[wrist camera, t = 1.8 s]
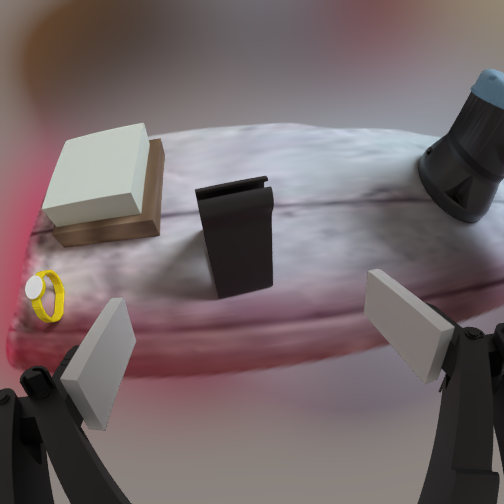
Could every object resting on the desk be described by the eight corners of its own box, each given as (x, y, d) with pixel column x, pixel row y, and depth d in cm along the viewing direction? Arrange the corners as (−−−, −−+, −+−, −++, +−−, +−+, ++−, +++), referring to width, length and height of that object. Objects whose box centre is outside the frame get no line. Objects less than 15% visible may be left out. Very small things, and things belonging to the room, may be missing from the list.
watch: (69, 325, 29) (41, 315, 24) (52, 326, 29) (23, 316, 23) (69, 278, 31) (44, 260, 26) (53, 280, 31) (27, 263, 26)
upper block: (149, 144, 37) (143, 122, 34) (140, 213, 32) (130, 192, 28) (76, 159, 36) (66, 140, 33) (56, 227, 31) (41, 209, 27)
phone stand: (203, 229, 35) (188, 157, 24) (251, 219, 36) (255, 146, 25) (218, 299, 31) (205, 245, 21) (272, 286, 32) (287, 228, 21)
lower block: (165, 157, 41) (160, 138, 38) (160, 237, 35) (152, 219, 32) (84, 172, 40) (75, 155, 37) (66, 249, 34) (52, 234, 30)
